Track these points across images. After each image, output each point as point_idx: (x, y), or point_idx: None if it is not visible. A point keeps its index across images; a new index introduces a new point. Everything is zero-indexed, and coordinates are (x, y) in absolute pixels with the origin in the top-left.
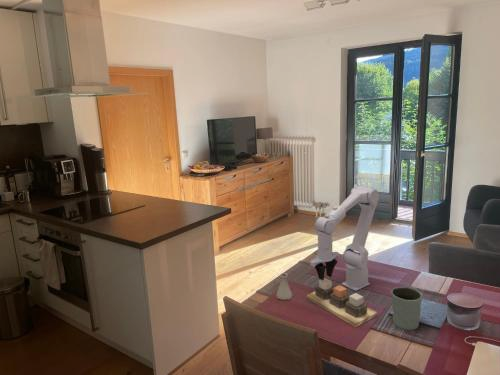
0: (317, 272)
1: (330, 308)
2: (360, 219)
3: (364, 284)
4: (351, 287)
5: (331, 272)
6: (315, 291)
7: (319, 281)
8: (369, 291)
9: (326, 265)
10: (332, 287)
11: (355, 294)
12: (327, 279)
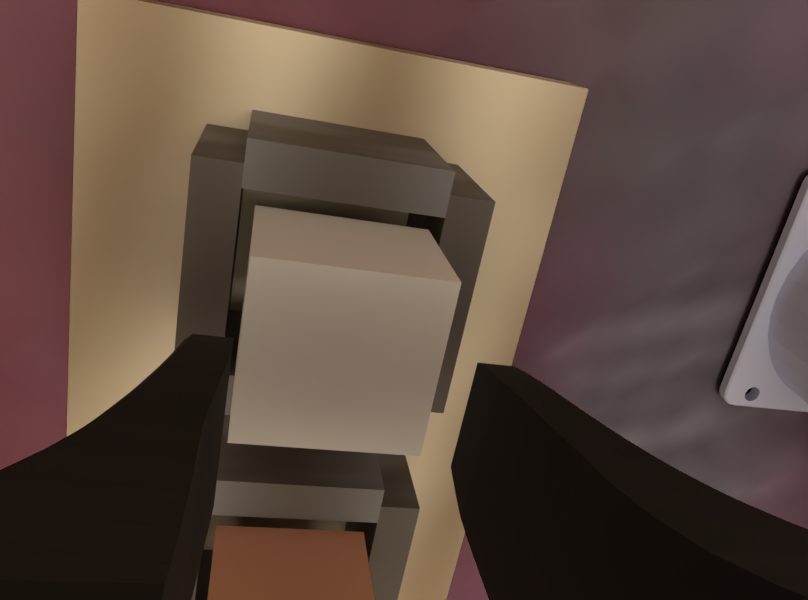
0: (117, 410)
1: None
2: None
3: None
4: (761, 335)
5: (489, 584)
6: (201, 138)
7: (249, 266)
8: (782, 489)
9: (605, 528)
10: None
11: None
12: (428, 360)
